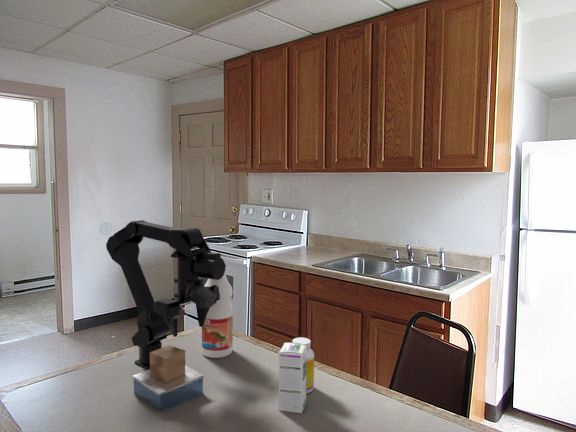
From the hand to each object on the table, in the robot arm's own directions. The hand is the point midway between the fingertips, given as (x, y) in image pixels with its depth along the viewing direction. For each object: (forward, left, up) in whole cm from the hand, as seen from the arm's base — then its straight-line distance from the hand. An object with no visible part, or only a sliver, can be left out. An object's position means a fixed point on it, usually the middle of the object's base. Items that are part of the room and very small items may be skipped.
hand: (188, 331), depth 115 cm
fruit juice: (-4, +15, -12) cm, 20 cm away
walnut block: (+4, -10, -7) cm, 13 cm away
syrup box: (+32, +4, -12) cm, 35 cm away
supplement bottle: (+29, +12, -12) cm, 34 cm away
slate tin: (+4, -10, -12) cm, 16 cm away
